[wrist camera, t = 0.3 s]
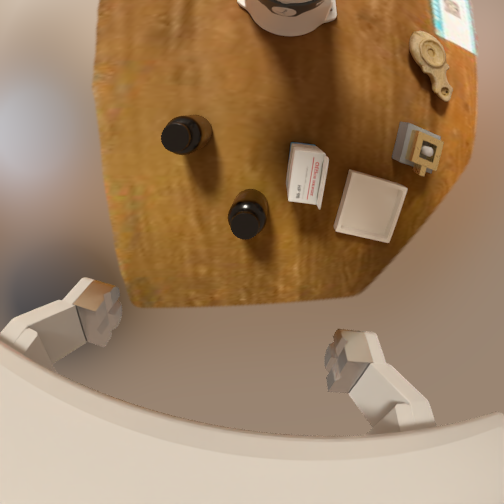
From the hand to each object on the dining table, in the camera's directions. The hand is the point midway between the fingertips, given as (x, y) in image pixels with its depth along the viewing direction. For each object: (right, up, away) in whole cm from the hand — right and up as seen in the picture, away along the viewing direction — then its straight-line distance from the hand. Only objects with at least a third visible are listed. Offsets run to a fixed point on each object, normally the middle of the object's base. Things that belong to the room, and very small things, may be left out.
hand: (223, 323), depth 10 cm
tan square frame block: (+33, +22, +34) cm, 52 cm away
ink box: (+10, +19, +42) cm, 48 cm away
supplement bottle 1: (-10, +26, +41) cm, 49 cm away
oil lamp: (+37, +41, +29) cm, 62 cm away
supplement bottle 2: (+1, +12, +47) cm, 48 cm away
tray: (+25, +12, +44) cm, 52 cm away
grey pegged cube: (+34, +24, +37) cm, 56 cm away
